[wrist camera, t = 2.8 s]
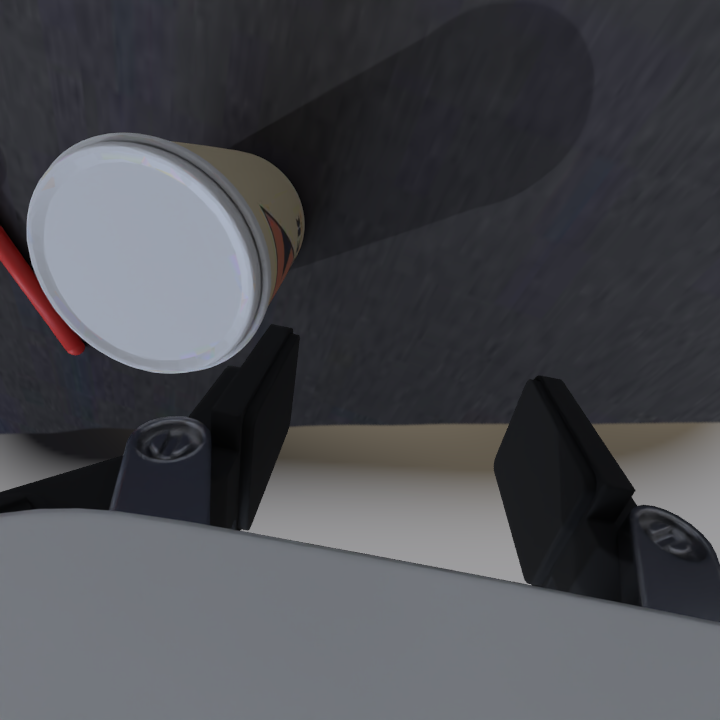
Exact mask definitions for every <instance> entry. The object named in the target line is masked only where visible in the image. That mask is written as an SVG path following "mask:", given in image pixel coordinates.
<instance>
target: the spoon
mask: <svg viewBox="0 0 720 720" xmlns="http://www.w3.org/2000/svg"><path fill="white" fill-rule="evenodd" d="M0 260H1V262H2V263H3V264H4V266H5V267H6V268H7V270H8V271H9V273H10V274H11V275H12V277H13V278H14V279H15V281H16V282H17V284H18V285H19V286H20V288H21V289H22V290H23V292H24V293H25V295H26V296H27V297H28V299H29V300H30V301H31V303H32V304H33V305H34V307H35V308H36V310H37V311H38V312H39V314H40V315H41V316H42V318H43V319H44V321H45V322H46V323H47V325H48V326H49V327H50V329H51V330H52V332H53V333H54V334H55V336H56V337H57V338H58V340H59V341H60V342H61V344H62V345H63V347H64V348H65V349H66V351H67V352H68V353H69V354H72V355H79V354H81V353H82V352H83V351H84V349H85V345H84V343H83V341H82V340H81V338H80V337H79V336H78V334H77V333H76V332H74V331H73V330H72V329H71V328H70V327H69V326H68V324H67V323H66V322H65V321H64V320H63V319H62V318H61V316H60V315H59V314H58V313H57V312H56V310H55V309H54V308H53V306H52V304H51V303H50V301H49V300H48V298H47V296H46V295H45V293H44V291H43V290H42V288H41V286H40V283H39V281H38V279H37V276H36V275H35V273H34V272H33V270H32V269H31V268H30V266H29V265H28V263H27V262H26V260H25V259H24V258H23V256H22V255H21V253H20V252H19V251H18V249H17V248H16V246H15V245H14V243H13V242H12V241H11V239H10V238H9V236H8V235H7V234H6V232H5V231H4V229H3V228H2V226H1V225H0Z"/></svg>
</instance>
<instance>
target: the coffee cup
mask: <svg viewBox="0 0 720 720" xmlns="http://www.w3.org/2000/svg"><path fill="white" fill-rule="evenodd" d="M304 229H305V222H304V213H303V208H302V204H301V201H300V199H299V196H298V194H297V192H296V190H295V188H294V187H293V185H292V184H291V182H290V181H289V180H288V178H287V177H286V176H285V175H284V174H283V173H282V172H281V171H280V170H279V169H278V168H277V167H275V166H274V165H273V164H271V163H270V162H268V161H266V160H265V159H263V158H261V157H259V156H256V155H253V154H250V153H245V152H241V151H237V150H230V149H223V148H217V147H210V146H203V145H196V144H188V143H181V142H172V141H168V140H164V139H161V138H158V137H154V136H149V135H143V134H138V133H109V134H105V135H100V136H95V137H92V138H89V139H86V140H84V141H81V142H79V143H77V144H75V145H74V146H72V147H70V148H69V149H67V150H66V151H65V152H63V153H62V154H61V155H60V156H59V157H58V158H57V159H56V160H55V161H54V162H53V163H52V164H51V166H50V167H49V169H48V170H47V171H46V173H45V174H44V175H43V176H42V178H41V179H40V180H39V182H38V184H37V186H36V188H35V190H34V192H33V195H32V198H31V201H30V205H29V210H28V215H27V243H28V249H29V254H30V258H31V263H32V266H33V269H34V271H35V274H36V276H37V279H38V281H39V283H40V286H41V288H42V290H43V291H44V293H45V295H46V296H47V298H48V300H49V301H50V303H51V304H52V306H53V308H54V309H55V310H56V312H57V313H58V314H59V315H60V316H61V318H62V319H63V320H64V321H65V322H66V323H67V324H68V326H69V327H70V328H71V329H72V330H73V331H74V332H76V333H77V334H78V335H79V336H80V337H81V338H82V339H84V340H85V341H86V342H87V343H88V344H90V345H91V346H93V347H94V348H96V349H97V350H99V351H100V352H102V353H104V354H105V355H107V356H109V357H110V358H112V359H114V360H117V361H119V362H121V363H124V364H126V365H129V366H131V367H134V368H138V369H142V370H145V371H151V372H156V373H185V372H191V371H198V370H203V369H207V368H210V367H213V366H216V365H218V364H220V363H222V362H224V361H226V360H228V359H229V358H231V357H232V356H234V355H235V354H236V353H237V352H239V351H240V350H241V349H242V348H243V347H244V346H245V345H246V344H247V343H248V342H249V341H250V340H251V338H252V337H253V335H254V334H255V333H256V331H257V329H258V328H259V326H260V324H261V322H262V320H263V318H264V315H265V312H266V310H267V307H268V305H269V304H270V302H271V300H272V299H273V297H274V295H275V294H276V292H277V290H278V288H279V287H280V285H281V283H282V281H283V280H284V278H285V276H286V274H287V273H288V271H289V269H290V267H291V266H292V264H293V262H294V260H295V258H296V256H297V254H298V252H299V250H300V248H301V244H302V241H303V237H304Z"/></svg>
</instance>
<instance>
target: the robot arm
mask: <svg viewBox="0 0 720 720" xmlns="http://www.w3.org/2000/svg"><path fill="white" fill-rule="evenodd" d="M299 340H300V336H299V335H295V334H293V329H292V328H288V327H283V326H277V325H272V324H271V325H270V326H269V328H268V329H267V331H266V332H265V333H264V335H263V336H262V338H261V339H260V341H259V342H258V343H257V345H256V346H255V348H254V349H253V351H252V352H251V353H250V355H249V356H248V358H247V359H246V361H245V362H244V363H243V365H242V366H241V367H235V366H228V367H227V368H226V369H225V370H224V371H223V373H222V374H221V375H220V376H219V378H218V379H217V380H216V382H215V383H214V384H213V386H212V387H211V388H210V390H209V391H208V392H207V393H206V395H205V396H204V397H203V399H202V400H201V401H200V403H199V404H198V405H197V407H196V408H195V409H194V410H193V412H192V413H191V414H190V416H189V417H178V416H171V417H163V418H159V419H155V420H152V421H149V422H147V423H145V424H143V425H141V426H139V427H138V428H137V429H136V430H135V431H134V432H133V433H132V434H131V436H130V437H129V439H128V441H127V444H126V449H125V452H124V455H123V456H120V457H116V458H113V459H110V460H106V461H103V462H99V463H96V464H93V465H89V466H86V467H83V468H79V469H76V470H73V471H70V472H66V473H63V474H59V475H56V476H53V477H49V478H46V479H43V480H40V481H36V482H33V483H29V484H26V485H23V486H20V487H16V488H13V489H10V490H6V491H3V492H0V720H720V564H719V561H718V558H717V555H716V553H715V551H714V549H713V547H712V545H711V544H710V542H709V541H708V540H707V539H706V538H705V537H704V535H703V534H702V533H700V532H699V531H698V530H697V529H696V528H695V527H693V526H692V525H691V524H690V523H688V522H687V521H685V520H683V519H682V518H680V517H679V516H677V515H675V514H673V513H671V512H669V511H667V510H664V509H661V508H658V507H655V506H649V505H641V506H637V505H636V503H635V502H634V500H633V499H632V495H633V493H634V492H635V489H634V487H633V486H632V484H631V483H630V481H629V480H628V479H627V477H626V475H625V474H624V472H623V471H622V469H621V468H620V467H619V465H618V463H617V462H616V460H615V459H614V457H613V456H612V455H611V453H610V451H609V450H608V448H607V447H606V445H605V444H604V442H603V441H602V439H601V438H600V437H599V435H598V434H597V432H596V431H595V429H594V427H593V426H592V424H591V423H590V421H589V420H588V418H587V417H586V415H585V414H584V412H583V411H582V409H581V408H580V406H579V405H578V403H577V402H576V400H575V399H574V397H573V396H572V394H571V393H570V391H569V390H568V388H567V387H566V385H565V384H564V382H563V381H562V380H560V379H555V378H550V377H544V376H537V377H536V378H535V379H534V380H531V379H530V380H528V381H527V383H526V385H525V387H524V389H523V392H522V394H521V397H520V399H519V401H518V404H517V406H516V409H515V411H514V414H513V416H512V418H511V421H510V423H509V426H508V428H507V431H506V433H505V436H504V438H503V440H502V443H501V445H500V448H499V450H498V453H497V455H496V458H495V461H494V472H495V476H496V480H497V483H498V487H499V490H500V494H501V497H502V501H503V505H504V508H505V512H506V515H507V519H508V523H509V526H510V530H511V533H512V537H513V541H514V543H515V548H516V551H517V555H518V558H519V562H520V566H521V568H522V573H523V576H524V579H525V581H526V582H527V583H528V584H532V585H527V584H522V583H516V582H511V581H506V580H500V579H495V578H490V577H485V576H480V575H475V574H469V573H463V572H459V571H453V570H448V569H443V568H438V567H432V566H427V565H422V564H416V563H411V562H406V561H401V560H395V559H390V558H385V557H379V556H374V555H369V554H363V553H357V552H352V551H347V550H341V549H336V548H330V547H324V546H320V545H314V544H309V543H303V542H298V541H292V540H287V539H281V538H276V537H270V536H265V535H259V534H254V533H249V532H243V531H240V530H241V529H243V530H249V529H250V527H251V525H252V522H253V519H254V517H255V515H256V512H257V509H258V507H259V504H260V502H261V499H262V497H263V494H264V491H265V489H266V486H267V484H268V481H269V479H270V476H271V473H272V471H273V468H274V465H275V463H276V460H277V458H278V455H279V453H280V450H281V447H282V445H283V442H284V440H285V437H286V435H287V432H288V429H289V425H290V419H291V411H292V402H293V393H294V384H295V376H296V367H297V358H298V349H299Z"/></svg>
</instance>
